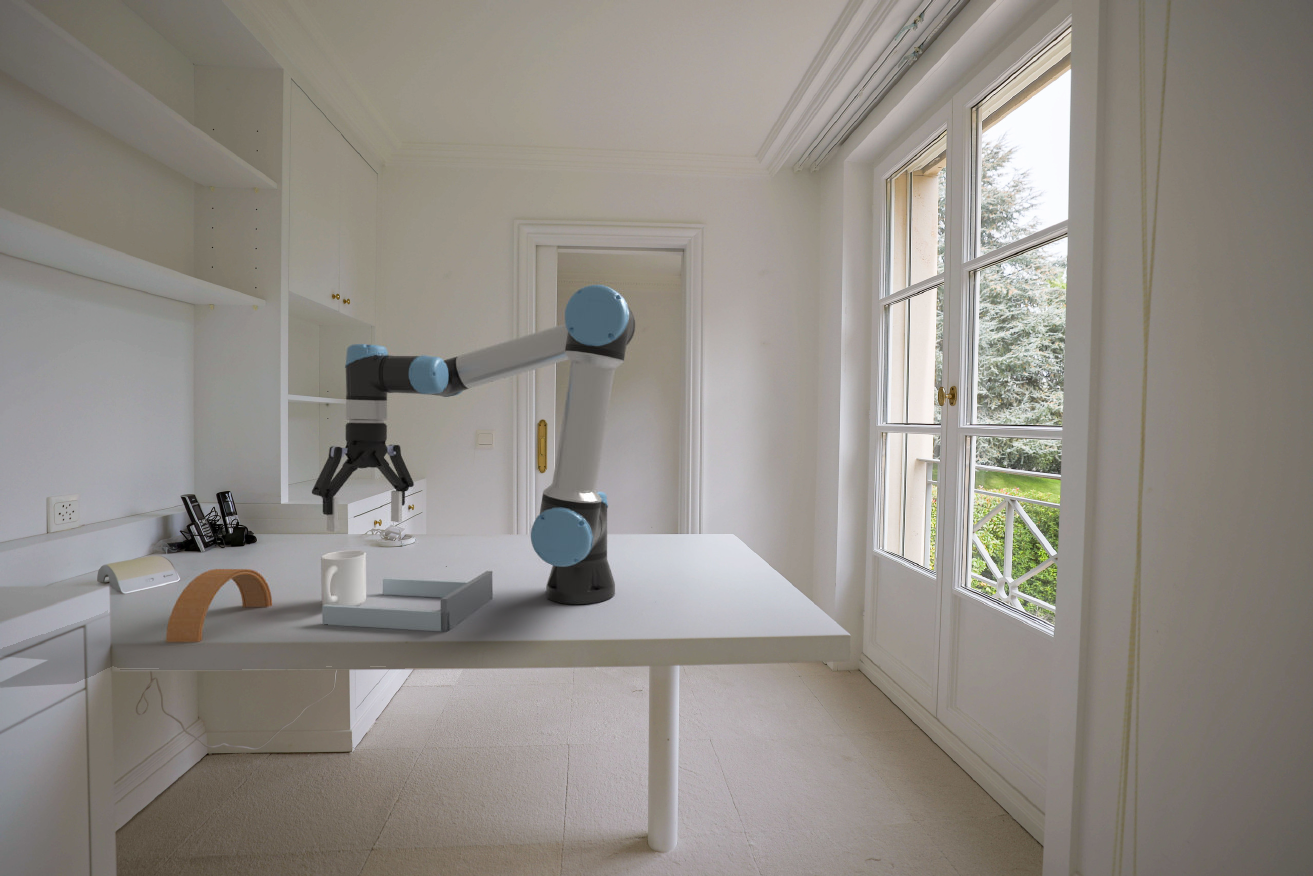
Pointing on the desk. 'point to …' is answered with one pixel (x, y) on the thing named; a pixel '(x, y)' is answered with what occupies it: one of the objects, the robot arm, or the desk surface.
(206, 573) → the arch
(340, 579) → the mug
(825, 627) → the desk surface
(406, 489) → the robot arm
